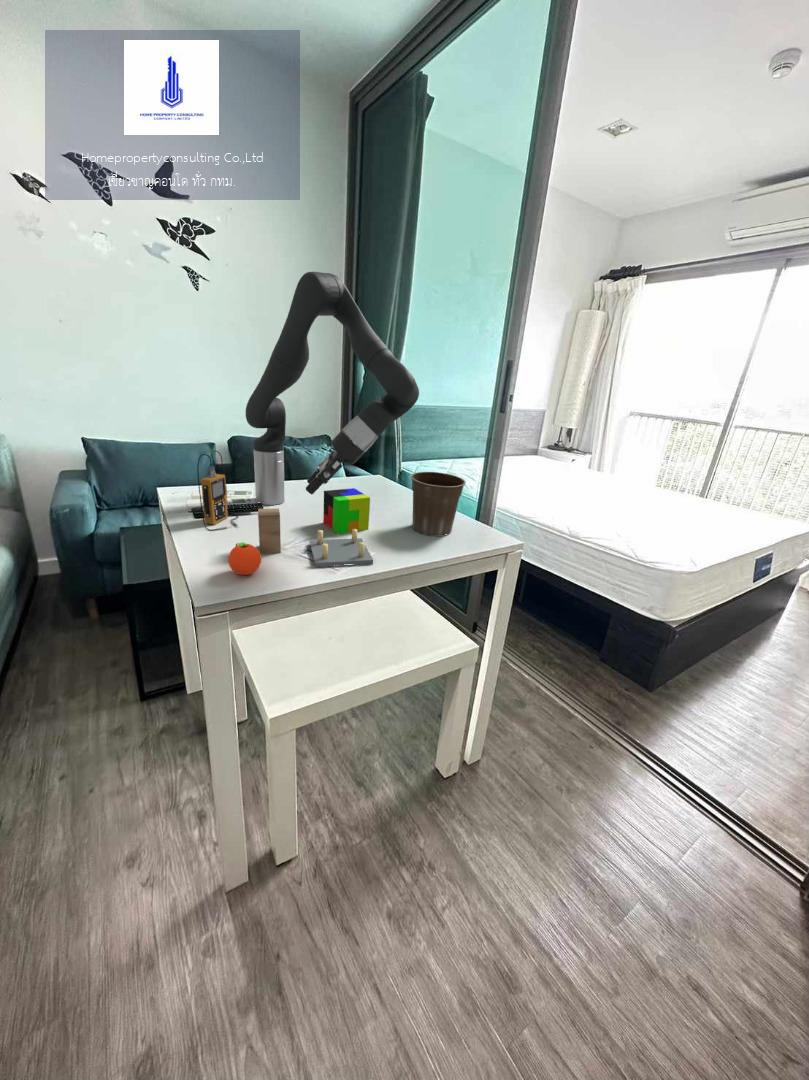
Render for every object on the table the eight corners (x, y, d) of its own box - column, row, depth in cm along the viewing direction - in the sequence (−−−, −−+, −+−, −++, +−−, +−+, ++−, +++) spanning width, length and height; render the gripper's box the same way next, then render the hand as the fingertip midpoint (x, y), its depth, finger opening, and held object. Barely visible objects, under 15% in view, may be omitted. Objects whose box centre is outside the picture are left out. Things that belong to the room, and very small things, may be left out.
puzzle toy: (353, 518, 137) (354, 488, 134) (368, 529, 130) (370, 497, 126) (323, 522, 132) (323, 490, 128) (337, 534, 124) (338, 500, 121)
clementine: (221, 569, 98) (219, 540, 96) (250, 562, 103) (249, 534, 100) (237, 583, 93) (235, 553, 91) (267, 575, 98) (266, 546, 95)
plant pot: (469, 535, 132) (477, 483, 126) (425, 542, 124) (431, 487, 118) (438, 518, 145) (444, 470, 139) (396, 523, 137) (400, 473, 131)
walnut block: (259, 545, 112) (258, 508, 109) (279, 544, 114) (279, 508, 110) (259, 553, 108) (258, 515, 104) (280, 552, 109) (279, 515, 106)
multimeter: (229, 534, 118) (224, 460, 110) (196, 528, 119) (189, 455, 112) (257, 517, 131) (254, 451, 124) (227, 512, 133) (222, 446, 125)
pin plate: (309, 544, 116) (309, 527, 114) (361, 542, 120) (362, 526, 118) (315, 567, 103) (315, 549, 102) (372, 564, 108) (374, 546, 106)
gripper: (342, 426, 111) (298, 471, 113) (344, 431, 97) (295, 483, 99) (363, 447, 113) (320, 491, 115) (368, 455, 100) (320, 505, 102)
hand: (309, 487), depth 107 cm, fingers open, 8 cm apart
